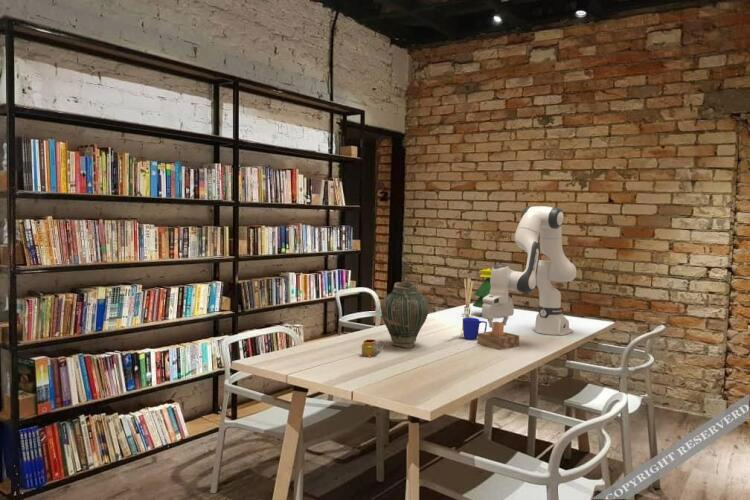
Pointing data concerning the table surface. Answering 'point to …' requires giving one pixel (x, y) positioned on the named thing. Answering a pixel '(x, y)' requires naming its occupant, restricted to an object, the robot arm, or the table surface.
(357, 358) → the table surface
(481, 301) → the decorative tree
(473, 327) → the mug
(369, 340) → the mug
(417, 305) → the vase
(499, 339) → the wooden tray
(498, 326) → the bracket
